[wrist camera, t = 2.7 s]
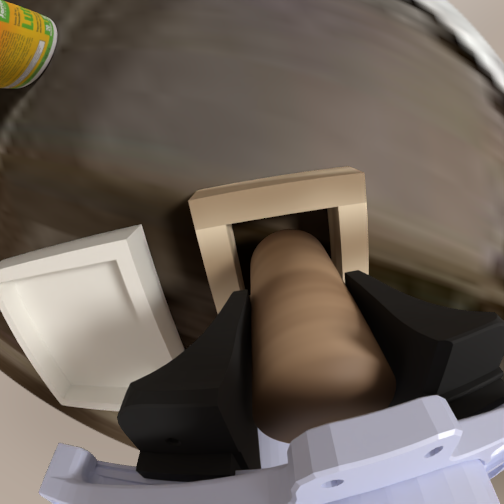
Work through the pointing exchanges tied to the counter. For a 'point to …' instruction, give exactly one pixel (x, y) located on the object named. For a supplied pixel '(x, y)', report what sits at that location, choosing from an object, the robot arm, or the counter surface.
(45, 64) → the supplement bottle
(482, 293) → the counter surface
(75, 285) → the tray
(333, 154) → the counter surface
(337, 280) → the wooden dowel
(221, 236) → the collar
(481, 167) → the counter surface
